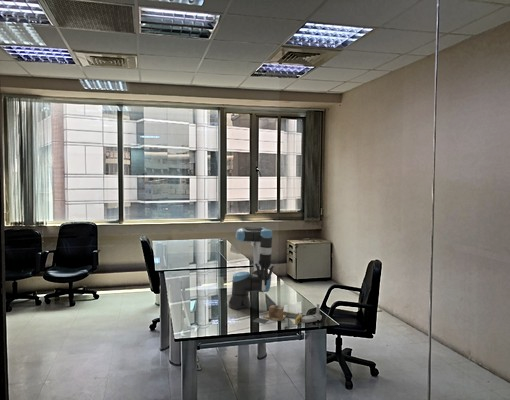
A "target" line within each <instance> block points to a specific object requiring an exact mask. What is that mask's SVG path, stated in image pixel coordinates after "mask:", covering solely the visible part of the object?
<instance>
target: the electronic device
mask: <svg viewBox="0 0 510 400" xmlns="http://www.w3.org/2000/svg"><path fill="white" fill-rule="evenodd" d="M322 317H323V316H322V315H321V313H320V304H316V309H315V314H310V315H305V316H302V317H301V321H300V322H302V323H306V324H307V323H313V322H318V321H317V320H319V321H322V320H323V319H322ZM321 319H322V320H321Z"/></svg>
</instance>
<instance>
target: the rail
mask: <svg viewBox="0 0 510 400" xmlns="http://www.w3.org/2000/svg"><path fill="white" fill-rule="evenodd" d="M283 315H286V317H285V318H290V319H294V325H299V324H300V322H302V321H301V317H303V314H302V313H298V312H297V313H296V312H291V311H284V310H283Z"/></svg>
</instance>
